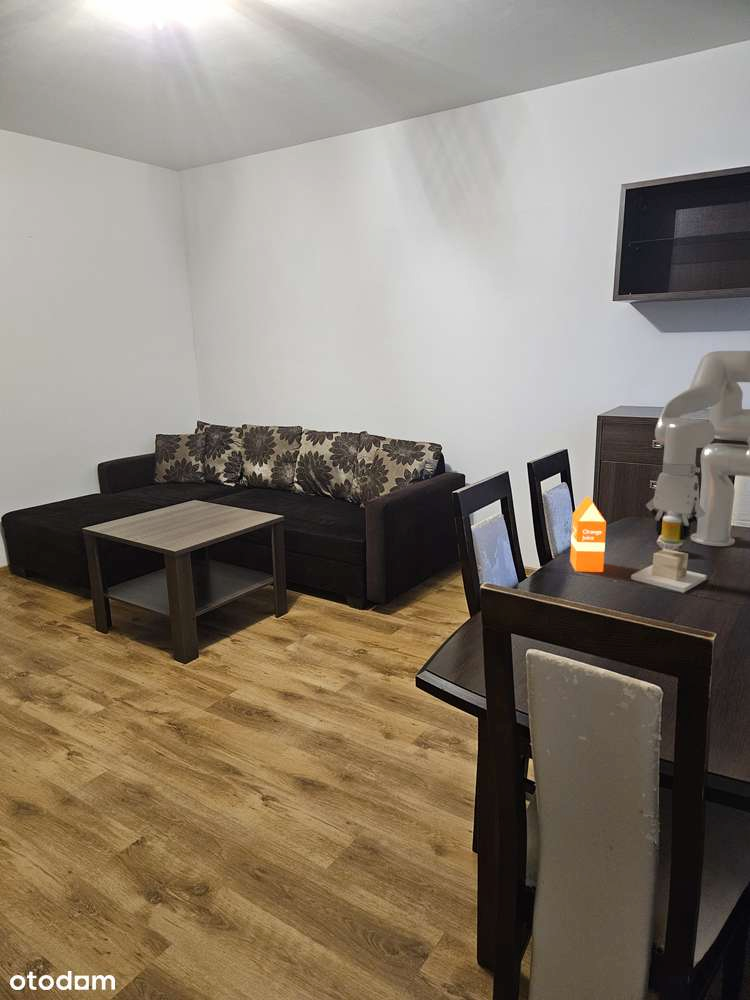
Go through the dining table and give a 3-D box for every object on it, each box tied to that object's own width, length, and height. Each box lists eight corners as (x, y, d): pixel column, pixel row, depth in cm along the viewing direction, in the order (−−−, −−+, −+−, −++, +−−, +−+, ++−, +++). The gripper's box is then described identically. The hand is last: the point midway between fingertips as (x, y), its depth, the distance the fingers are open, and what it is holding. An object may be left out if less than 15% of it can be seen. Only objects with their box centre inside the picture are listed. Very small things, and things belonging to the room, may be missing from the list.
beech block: (662, 569, 177) (664, 548, 175) (686, 575, 172) (688, 553, 171) (651, 574, 173) (653, 553, 171) (675, 580, 168) (677, 559, 167)
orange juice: (596, 562, 188) (601, 495, 183) (603, 572, 179) (608, 502, 175) (569, 561, 189) (572, 495, 184) (574, 571, 180) (578, 502, 176)
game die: (674, 566, 194) (692, 546, 187) (647, 555, 195) (664, 535, 188) (675, 545, 200) (693, 525, 193) (649, 535, 201) (665, 515, 194)
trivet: (654, 567, 182) (655, 563, 182) (706, 579, 172) (706, 575, 172) (631, 579, 173) (631, 575, 173) (683, 592, 163) (684, 588, 163)
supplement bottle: (681, 547, 167) (684, 511, 164) (659, 544, 169) (662, 508, 167) (684, 542, 171) (687, 506, 169) (662, 539, 174) (665, 504, 172)
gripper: (719, 471, 162) (711, 540, 166) (652, 464, 175) (647, 528, 179) (706, 475, 157) (699, 546, 161) (639, 467, 170) (634, 533, 174)
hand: (672, 536), depth 170 cm, fingers closed on supplement bottle, 5 cm apart
